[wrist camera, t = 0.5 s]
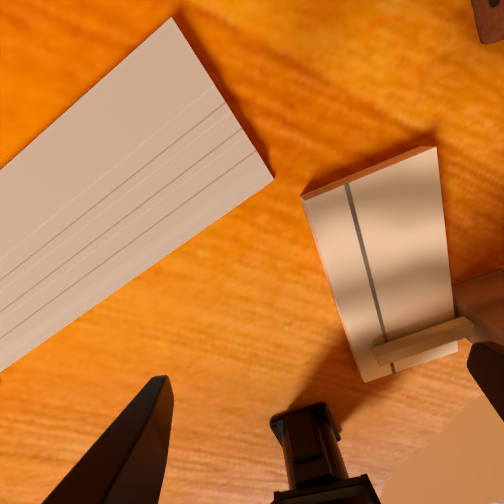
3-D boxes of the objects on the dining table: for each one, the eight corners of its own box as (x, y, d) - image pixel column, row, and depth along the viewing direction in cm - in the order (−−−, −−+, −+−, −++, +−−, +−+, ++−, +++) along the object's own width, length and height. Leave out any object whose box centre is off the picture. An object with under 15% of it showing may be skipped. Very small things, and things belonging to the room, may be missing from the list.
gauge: (500, 303, 25) (576, 350, 19) (366, 350, 26) (401, 407, 21) (499, 268, 23) (581, 309, 18) (357, 320, 25) (393, 373, 19)
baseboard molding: (282, 194, 20) (176, 27, 16) (290, 202, 17) (165, 4, 13) (7, 383, 25) (-128, 296, 21) (-20, 412, 23) (-181, 319, 18)
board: (445, 339, 26) (458, 351, 25) (357, 369, 27) (364, 383, 25) (420, 145, 19) (436, 146, 17) (299, 196, 20) (305, 200, 18)
